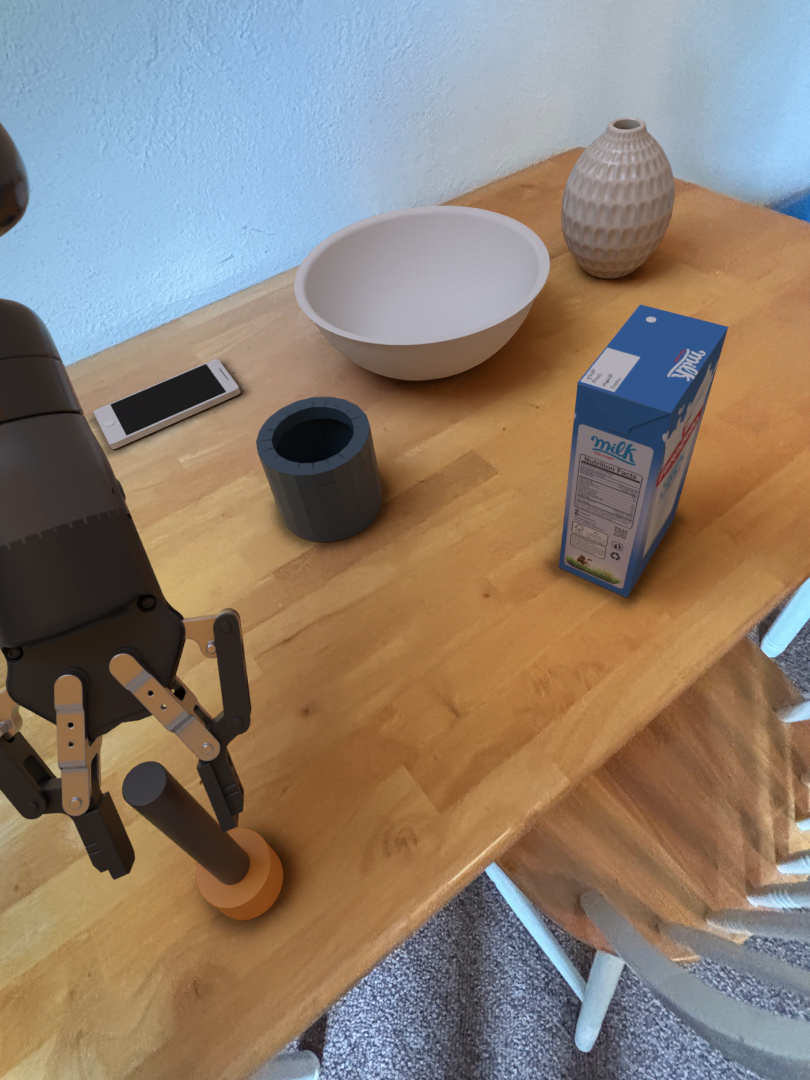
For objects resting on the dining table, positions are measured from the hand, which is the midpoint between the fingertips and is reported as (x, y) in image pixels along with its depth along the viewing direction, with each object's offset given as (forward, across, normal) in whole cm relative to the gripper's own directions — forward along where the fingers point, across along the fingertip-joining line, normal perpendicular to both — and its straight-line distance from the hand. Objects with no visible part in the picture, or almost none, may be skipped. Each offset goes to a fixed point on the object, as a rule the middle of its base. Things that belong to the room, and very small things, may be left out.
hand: (179, 844), depth 36 cm
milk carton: (-1, +37, +21) cm, 43 cm away
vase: (-28, +61, +48) cm, 83 cm away
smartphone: (-29, +4, +49) cm, 57 cm away
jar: (-13, +16, +33) cm, 39 cm away
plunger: (+9, 0, +11) cm, 14 cm away
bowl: (-26, +34, +46) cm, 63 cm away
